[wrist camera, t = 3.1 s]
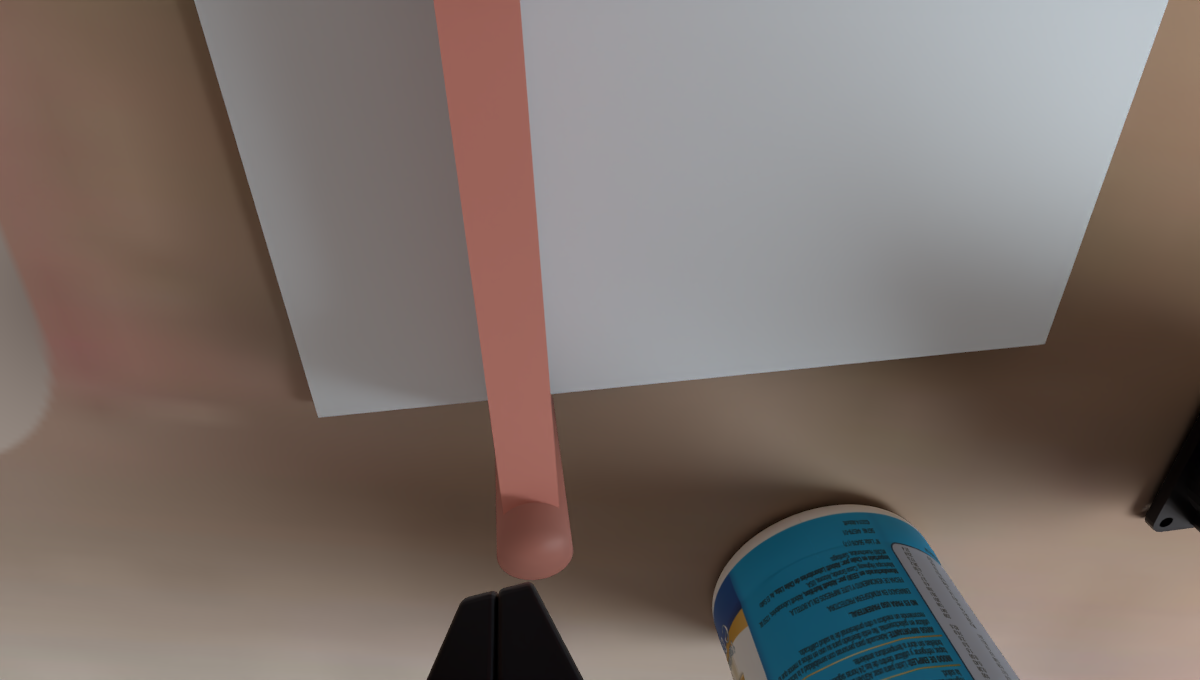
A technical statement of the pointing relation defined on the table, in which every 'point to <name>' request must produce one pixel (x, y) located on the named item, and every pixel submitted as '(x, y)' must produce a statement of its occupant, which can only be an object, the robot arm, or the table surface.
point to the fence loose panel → (506, 276)
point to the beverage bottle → (848, 604)
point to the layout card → (682, 181)
